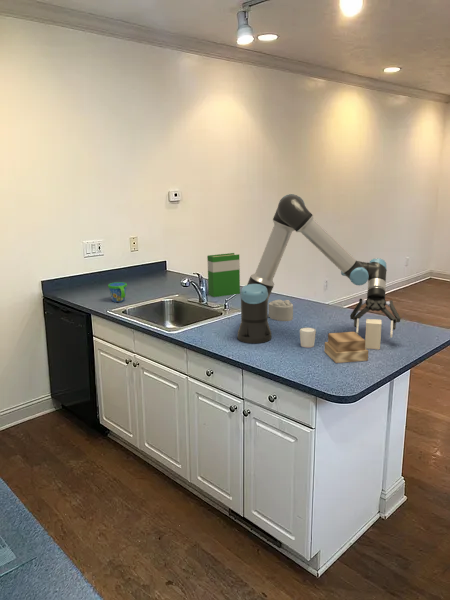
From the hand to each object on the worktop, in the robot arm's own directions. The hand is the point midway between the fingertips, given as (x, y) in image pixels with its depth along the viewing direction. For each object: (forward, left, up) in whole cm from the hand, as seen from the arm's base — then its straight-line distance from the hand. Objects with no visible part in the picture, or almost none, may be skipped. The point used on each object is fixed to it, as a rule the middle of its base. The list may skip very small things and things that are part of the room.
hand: (374, 334), depth 206 cm
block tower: (-15, -7, -5) cm, 17 cm away
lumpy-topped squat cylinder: (-26, +50, -6) cm, 57 cm away
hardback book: (-47, +106, -6) cm, 116 cm away
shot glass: (-26, +8, -6) cm, 28 cm away
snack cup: (-110, +104, -6) cm, 151 cm away
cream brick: (0, +1, -5) cm, 6 cm away
